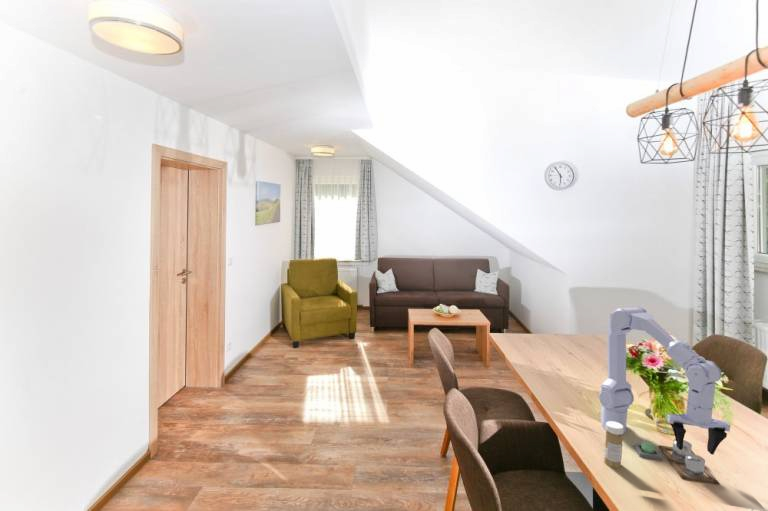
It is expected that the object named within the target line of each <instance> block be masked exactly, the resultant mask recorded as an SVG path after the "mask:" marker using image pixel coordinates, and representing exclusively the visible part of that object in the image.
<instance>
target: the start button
mask: <svg viewBox="0 0 768 511" xmlns="http://www.w3.org/2000/svg"><path fill="white" fill-rule="evenodd" d="M640 444H641V451H642V452H644V453H651V454H654V449H655V447H656V446H655V443H653V442H651V441H650V440H641V443H640Z"/></svg>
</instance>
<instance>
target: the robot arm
mask: <svg viewBox="0 0 768 511" xmlns="http://www.w3.org/2000/svg"><path fill="white" fill-rule="evenodd" d="M609 314H610V315H609V316H610V317H609V318H610V319H609V323H608V324H607V326H606V327H607V328H606V332H607V334H606V336H607V337H606V338H607V339H606V340H607V343H606V344H607V345H606V346H607V352H606V353H607V356H606V357H607V359H606V360H607V361H606V363H607V366H606V367H607V370H606V371H607V378H606V379H605V380H604V381H603V382H602V383H601V387H600V388H601V389H600V392H599V394H598V399H599V402H600V404H601V408H600V419H599V420H600V422H601V427H602V429H604V430H605V431H606V423H607V422H609V421H613V422H617V423H620V424H622V425H623V427H624V433H623V434H625V433H626V432H627V423H628V422H627V421H628V410H629V408H630V406H631V405H632V404H633V403H634V401H635V399H634V398H635V395H634V394H633V392H632V385H631V383H629V381H627V334H628V333H630V332H631V331H633V330H635V331H636V330H637V331H643V332H645V333H646V334H647V335H649V336H650V337H651V338H652V339H654V340H655V341H656V342H658V343H659V344H660V345H661V346H663V347H664V348H665V349H666V350H665V351H666V355H667V356H668V357H669V358H670V359H671V360H672V361H673V362H674V363H675V364H677V365H678V366H679V367H680V368H681V369H682V370H684V374H685V377H686V378H687V380H688V393H687V401H686V410H685V413H681V414H680V413H678V414H677V413H675V414H673V413H672V414H671V413H667V415H666V421H667V422H668V423H669V424H670V425H671V429H672V431H673V434H674V437H675V438H674V439H676V446H677V447H678V449H680V450H682V448H683V440H684V439H685V434H686V433H687V430H686V428H685V426H684V425H687V426H695V427H699V428H700V429H706V430H707V431H708V433H707V434H708V438H707V446H706V447H707V448H706V449H707V452H709V454H710V455H714V454H715V452H716V450H717V448H718V446H719V445H720V444H721V443H722V442H723V441H724V440H725V439H726V438H727V435H728V433H727V432H730V430H731V424H730V423H729V422H728V421H724V420H719V419H715V418H713V417H712V416H713V408H714V400H715V393H716V392H715V391H716V385H717V384H716V382H719V381H720V379H721V378H722V370H721V368H720V367H719V366H718V365H717V363H716V362H714V361H711V360H706V359H705V357H703V356H700V355H699V354H698V353H697V352H696V351H695V350H693V349H692V348H691V344H689V343H688V342H685V341H680V340H679V341H678V340H675V338H674V337H672V336H671V334H669V333H668V332H667V331H666V330H665V328H663V327H662V326H661V325H660V324H659V323H658V322H657V321H655V320H654V318H653V315H652V314H651V313H649V312H648V311H647V310H646V309H645V308H644V307H641V306H635V307H626V308H621V307H620V308H616V309H615V310H613V311H612V312H610V313H609Z"/></svg>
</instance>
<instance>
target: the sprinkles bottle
mask: <svg viewBox="0 0 768 511" xmlns="http://www.w3.org/2000/svg"><path fill="white" fill-rule="evenodd" d="M623 433H624V427H623V425H622V424H620V423H617V422H613V421H609V422H607V423H606V430H605V442H604V460H603V462H604V464H605V465H606V466H608V467H610V468H611V469H612V468H613V469H619V468H621V466H622V464H621V463H622V454H623V437H624V435H623ZM624 434H625V433H624Z"/></svg>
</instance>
